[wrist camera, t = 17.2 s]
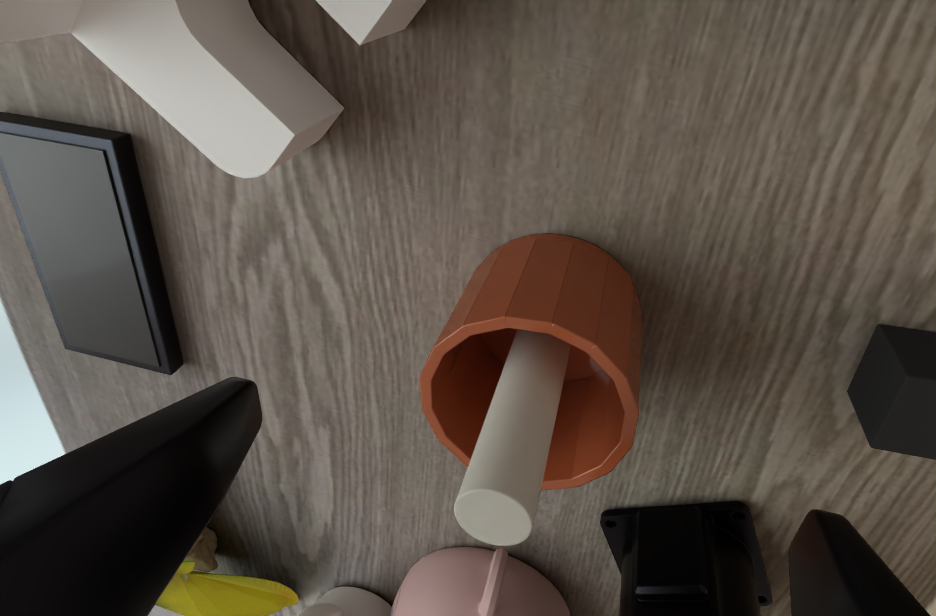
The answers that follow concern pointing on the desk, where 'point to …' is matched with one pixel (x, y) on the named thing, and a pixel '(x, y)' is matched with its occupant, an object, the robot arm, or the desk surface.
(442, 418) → the pen cup
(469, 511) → the plain white cylinder
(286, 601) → the fish
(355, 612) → the mug
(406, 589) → the mug
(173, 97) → the u-slot mount
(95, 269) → the tablet
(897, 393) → the plain black cube
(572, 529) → the desk surface
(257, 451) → the desk surface
